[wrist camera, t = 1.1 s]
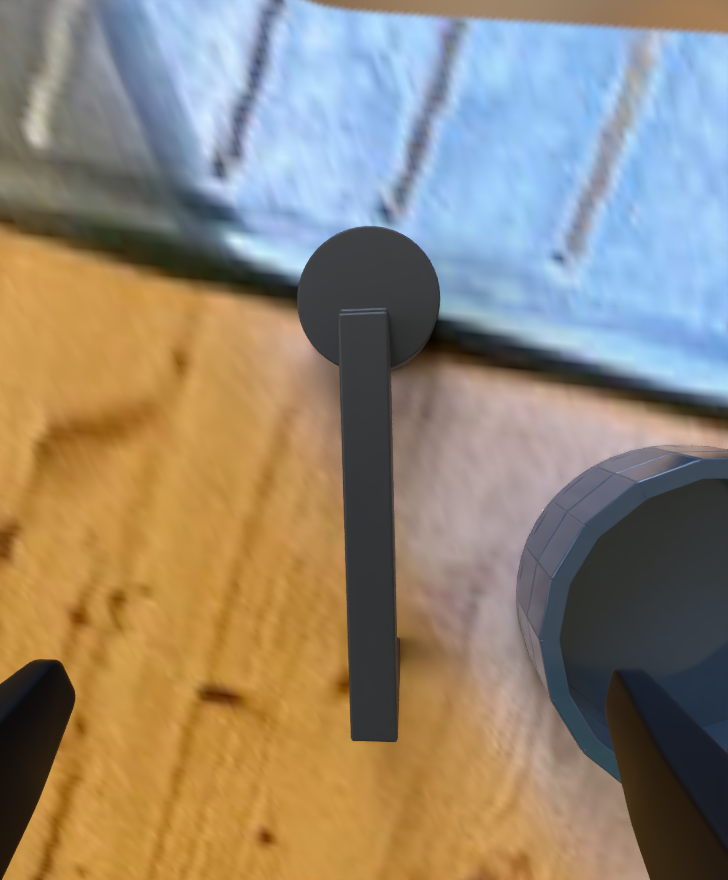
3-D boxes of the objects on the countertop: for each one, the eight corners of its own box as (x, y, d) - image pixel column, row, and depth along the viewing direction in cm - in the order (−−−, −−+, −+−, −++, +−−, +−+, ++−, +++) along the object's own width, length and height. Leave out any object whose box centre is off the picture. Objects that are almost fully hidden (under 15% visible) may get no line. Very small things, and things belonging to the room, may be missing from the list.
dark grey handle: (441, 663, 24) (451, 744, 18) (323, 662, 24) (298, 740, 19) (435, 244, 22) (443, 196, 17) (309, 250, 23) (277, 205, 17)
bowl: (822, 738, 23) (923, 823, 18) (514, 730, 24) (539, 809, 19) (836, 441, 22) (947, 454, 17) (513, 447, 23) (539, 461, 18)
